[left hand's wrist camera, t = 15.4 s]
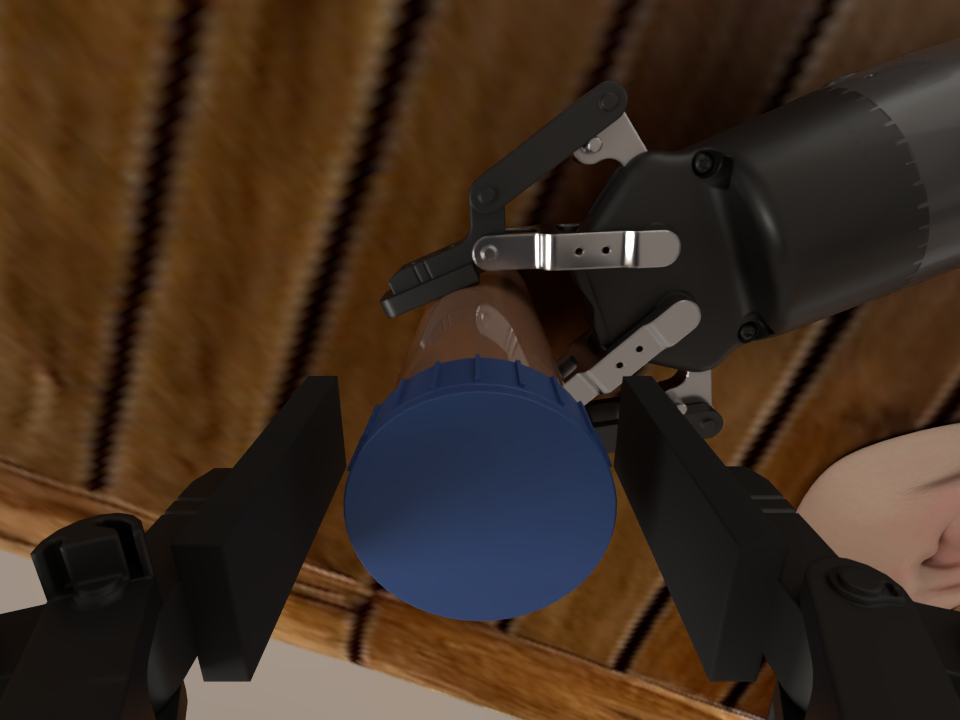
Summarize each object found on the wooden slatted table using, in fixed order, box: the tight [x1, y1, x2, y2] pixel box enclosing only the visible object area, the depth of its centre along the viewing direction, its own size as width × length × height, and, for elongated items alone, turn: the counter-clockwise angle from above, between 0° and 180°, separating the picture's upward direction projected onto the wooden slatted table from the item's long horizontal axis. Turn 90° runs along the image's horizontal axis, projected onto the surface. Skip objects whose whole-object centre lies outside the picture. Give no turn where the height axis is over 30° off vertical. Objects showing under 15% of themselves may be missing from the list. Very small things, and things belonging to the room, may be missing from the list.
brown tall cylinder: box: [393, 270, 567, 391], centre depth 19 cm, size 5×5×16 cm
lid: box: [344, 354, 617, 621], centre depth 11 cm, size 6×6×2 cm
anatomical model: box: [796, 423, 960, 609], centre depth 29 cm, size 13×4×12 cm
